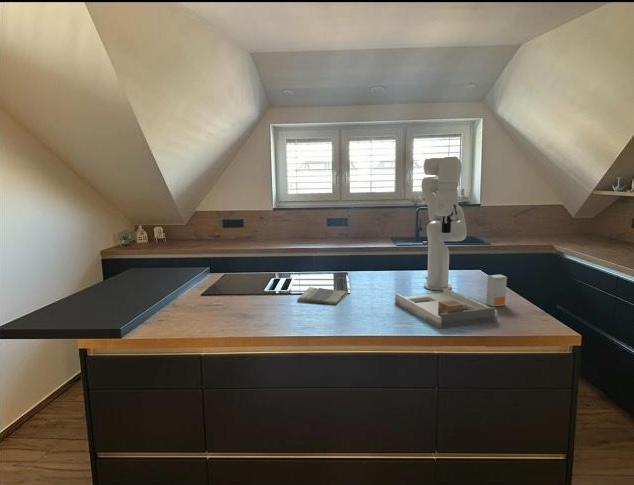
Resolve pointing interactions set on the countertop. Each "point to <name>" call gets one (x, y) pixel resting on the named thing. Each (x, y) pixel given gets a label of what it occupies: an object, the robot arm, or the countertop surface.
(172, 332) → the countertop surface
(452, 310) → the block
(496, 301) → the skincare box
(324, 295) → the dish towel
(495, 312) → the box
